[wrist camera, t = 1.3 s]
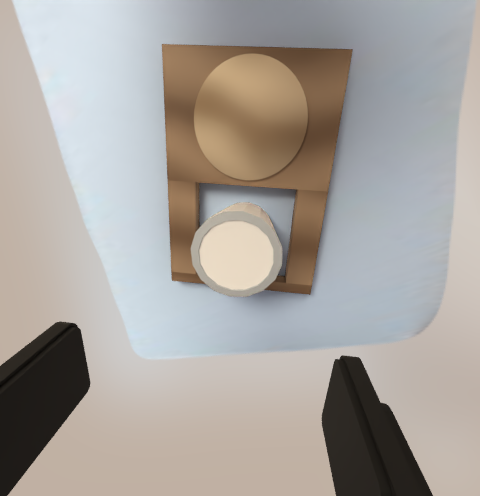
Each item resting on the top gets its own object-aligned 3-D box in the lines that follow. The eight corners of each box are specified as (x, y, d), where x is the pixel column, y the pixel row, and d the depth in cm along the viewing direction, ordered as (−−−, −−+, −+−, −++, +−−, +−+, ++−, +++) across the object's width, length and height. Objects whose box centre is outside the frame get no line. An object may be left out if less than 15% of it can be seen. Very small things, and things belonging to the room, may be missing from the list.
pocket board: (169, 51, 21) (160, 42, 19) (346, 56, 20) (353, 47, 18) (176, 274, 28) (170, 281, 26) (308, 287, 27) (310, 296, 25)
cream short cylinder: (220, 267, 27) (204, 304, 20) (201, 204, 25) (177, 222, 18) (285, 255, 26) (291, 290, 19) (271, 187, 24) (272, 200, 17)
